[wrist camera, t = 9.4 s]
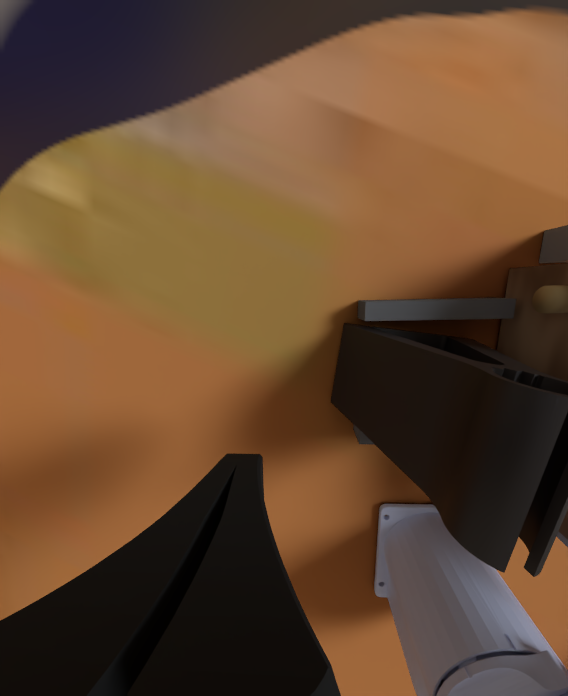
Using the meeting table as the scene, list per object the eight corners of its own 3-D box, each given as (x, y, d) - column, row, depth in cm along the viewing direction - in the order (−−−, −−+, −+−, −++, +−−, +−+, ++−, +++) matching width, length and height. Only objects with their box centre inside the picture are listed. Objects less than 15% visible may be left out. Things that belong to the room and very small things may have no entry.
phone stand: (329, 399, 20) (375, 554, 8) (343, 321, 19) (421, 376, 7) (447, 415, 20) (663, 596, 8) (470, 338, 19) (766, 423, 7)
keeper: (472, 429, 20) (491, 445, 18) (353, 429, 20) (359, 444, 18) (492, 297, 18) (516, 298, 16) (358, 300, 18) (365, 301, 16)
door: (498, 458, 20) (627, 566, 12) (463, 458, 20) (568, 564, 12) (532, 268, 17) (731, 250, 9) (490, 269, 17) (652, 252, 9)
